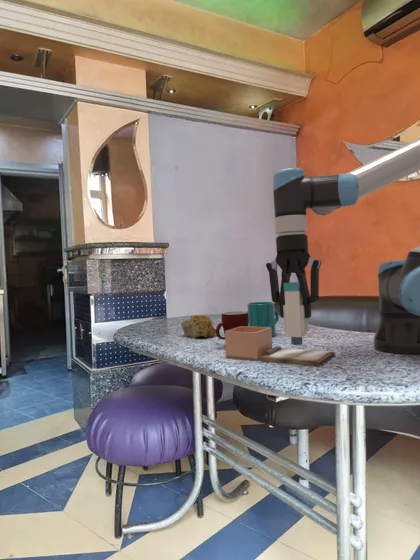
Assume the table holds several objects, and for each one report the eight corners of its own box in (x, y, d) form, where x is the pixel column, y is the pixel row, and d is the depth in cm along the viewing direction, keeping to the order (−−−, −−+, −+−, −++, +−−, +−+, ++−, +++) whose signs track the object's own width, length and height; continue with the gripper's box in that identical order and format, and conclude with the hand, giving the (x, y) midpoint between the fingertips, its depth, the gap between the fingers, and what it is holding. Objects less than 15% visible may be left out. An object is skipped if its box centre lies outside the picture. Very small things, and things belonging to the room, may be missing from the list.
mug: (226, 351, 116) (225, 316, 116) (210, 347, 123) (209, 314, 122) (255, 345, 122) (253, 312, 121) (238, 342, 128) (237, 310, 128)
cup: (287, 334, 139) (286, 301, 138) (260, 339, 132) (258, 304, 132) (270, 331, 146) (268, 300, 146) (243, 336, 140) (241, 303, 140)
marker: (307, 342, 100) (304, 281, 100) (301, 345, 97) (298, 282, 96) (292, 342, 102) (289, 282, 102) (286, 345, 99) (283, 283, 98)
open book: (334, 355, 104) (333, 347, 104) (319, 366, 94) (319, 357, 94) (279, 351, 112) (278, 344, 112) (260, 361, 102) (259, 353, 102)
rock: (189, 350, 144) (176, 325, 146) (207, 342, 150) (195, 317, 152) (205, 339, 135) (191, 313, 137) (224, 331, 141) (210, 305, 143)
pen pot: (272, 353, 111) (271, 327, 110) (257, 360, 103) (256, 332, 103) (242, 350, 116) (241, 326, 115) (225, 357, 108) (224, 331, 108)
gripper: (330, 232, 97) (335, 330, 98) (266, 238, 106) (271, 328, 107) (320, 230, 91) (326, 335, 92) (253, 237, 100) (258, 332, 101)
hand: (296, 331), depth 99 cm, fingers closed on marker, 4 cm apart
